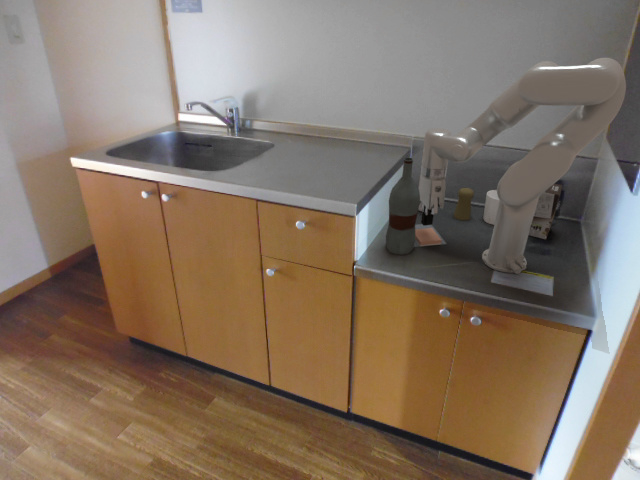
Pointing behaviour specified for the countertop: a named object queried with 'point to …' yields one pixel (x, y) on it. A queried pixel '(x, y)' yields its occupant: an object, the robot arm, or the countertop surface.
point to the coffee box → (545, 211)
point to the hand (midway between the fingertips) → (426, 223)
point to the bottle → (403, 212)
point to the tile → (427, 237)
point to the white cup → (491, 207)
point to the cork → (464, 204)
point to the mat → (420, 226)
